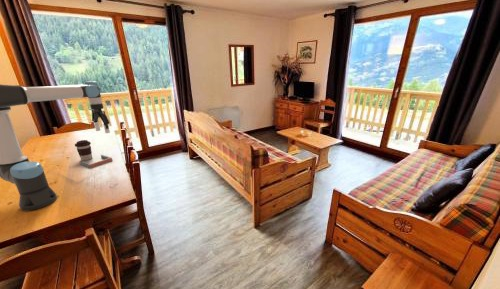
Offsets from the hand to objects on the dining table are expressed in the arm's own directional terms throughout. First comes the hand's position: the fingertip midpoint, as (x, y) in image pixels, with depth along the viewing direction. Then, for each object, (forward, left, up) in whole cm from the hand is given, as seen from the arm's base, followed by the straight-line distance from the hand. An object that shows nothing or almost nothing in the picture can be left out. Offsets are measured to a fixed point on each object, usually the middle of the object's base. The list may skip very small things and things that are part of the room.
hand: (103, 131), depth 157 cm
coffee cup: (-7, +21, -24) cm, 33 cm away
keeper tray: (-7, +6, -24) cm, 25 cm away
